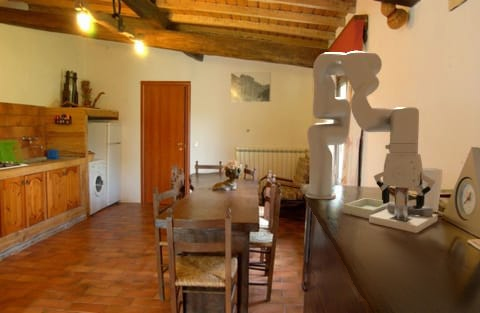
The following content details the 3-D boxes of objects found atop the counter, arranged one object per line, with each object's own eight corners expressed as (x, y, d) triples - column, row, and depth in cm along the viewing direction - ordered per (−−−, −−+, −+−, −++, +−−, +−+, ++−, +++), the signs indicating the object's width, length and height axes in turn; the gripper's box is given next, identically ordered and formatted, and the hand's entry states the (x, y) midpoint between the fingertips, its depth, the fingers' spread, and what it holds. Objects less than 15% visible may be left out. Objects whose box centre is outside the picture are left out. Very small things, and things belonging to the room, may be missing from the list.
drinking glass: (443, 213, 109) (445, 170, 108) (422, 213, 110) (424, 170, 109) (435, 208, 116) (437, 167, 114) (415, 208, 117) (417, 167, 115)
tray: (343, 212, 111) (343, 204, 111) (365, 205, 122) (365, 197, 121) (372, 219, 104) (372, 210, 103) (393, 210, 114) (393, 202, 113)
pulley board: (369, 222, 101) (369, 206, 100) (392, 212, 112) (393, 197, 111) (416, 232, 90) (417, 214, 90) (437, 220, 101) (438, 204, 101)
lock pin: (389, 225, 97) (391, 183, 96) (396, 222, 100) (397, 181, 99) (405, 228, 94) (407, 185, 93) (411, 225, 97) (413, 183, 96)
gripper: (369, 148, 99) (368, 202, 100) (431, 150, 86) (429, 213, 87) (380, 147, 104) (379, 199, 105) (440, 149, 91) (438, 208, 92)
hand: (402, 205), depth 96 cm, fingers open, 9 cm apart
